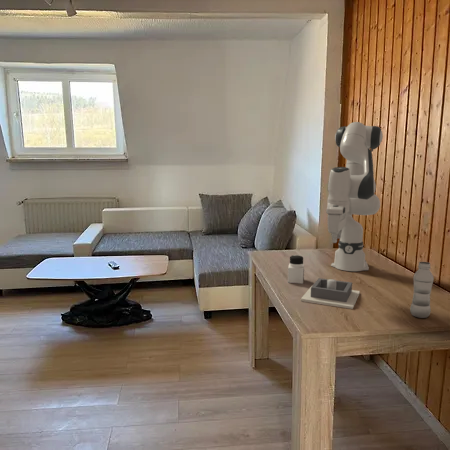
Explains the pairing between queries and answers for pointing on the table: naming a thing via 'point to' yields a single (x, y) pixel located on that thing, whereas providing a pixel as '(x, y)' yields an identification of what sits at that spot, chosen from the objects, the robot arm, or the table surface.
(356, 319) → the table surface
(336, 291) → the grey rectangular frame
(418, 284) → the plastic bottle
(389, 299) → the table surface
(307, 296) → the post stand
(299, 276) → the medicine bottle
